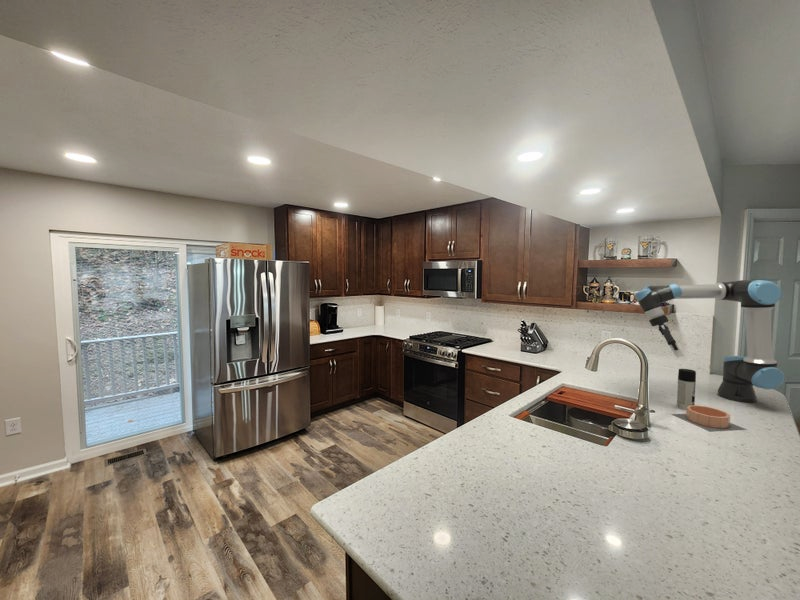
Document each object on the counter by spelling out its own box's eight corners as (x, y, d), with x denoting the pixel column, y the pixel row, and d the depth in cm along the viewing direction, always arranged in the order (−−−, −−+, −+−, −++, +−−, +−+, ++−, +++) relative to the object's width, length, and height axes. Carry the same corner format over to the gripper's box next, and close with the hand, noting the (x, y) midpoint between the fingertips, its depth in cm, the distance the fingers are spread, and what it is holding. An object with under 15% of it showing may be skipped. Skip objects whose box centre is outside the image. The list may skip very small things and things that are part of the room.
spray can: (694, 413, 160) (697, 372, 159) (676, 409, 164) (678, 370, 163) (693, 408, 165) (695, 369, 164) (675, 405, 170) (678, 367, 168)
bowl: (705, 414, 157) (705, 404, 157) (738, 427, 143) (738, 416, 143) (678, 415, 156) (679, 405, 155) (709, 429, 142) (709, 418, 141)
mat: (704, 413, 159) (704, 412, 159) (747, 430, 141) (747, 429, 141) (670, 415, 157) (670, 414, 157) (709, 433, 140) (709, 431, 140)
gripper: (648, 320, 184) (669, 356, 178) (648, 319, 164) (672, 359, 158) (663, 315, 180) (685, 352, 174) (666, 313, 161) (691, 354, 154)
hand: (679, 355), depth 166 cm, fingers open, 13 cm apart
